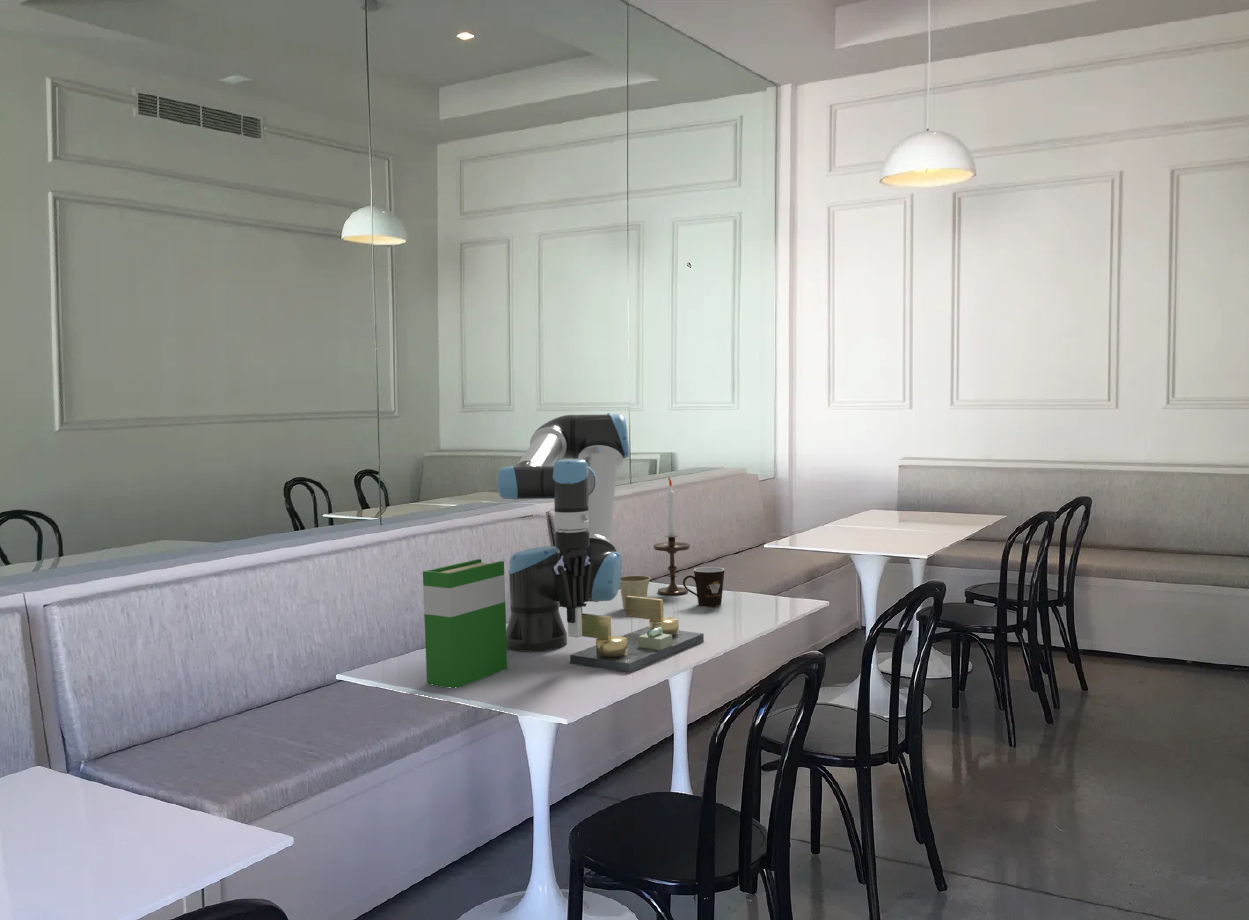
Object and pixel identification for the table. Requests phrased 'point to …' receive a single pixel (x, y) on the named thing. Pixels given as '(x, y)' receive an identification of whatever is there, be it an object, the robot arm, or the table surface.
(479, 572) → the hardback book
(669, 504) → the candlestick
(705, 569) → the coffee mug
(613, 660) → the level plate
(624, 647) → the near knob
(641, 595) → the flower pot
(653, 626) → the far knob
